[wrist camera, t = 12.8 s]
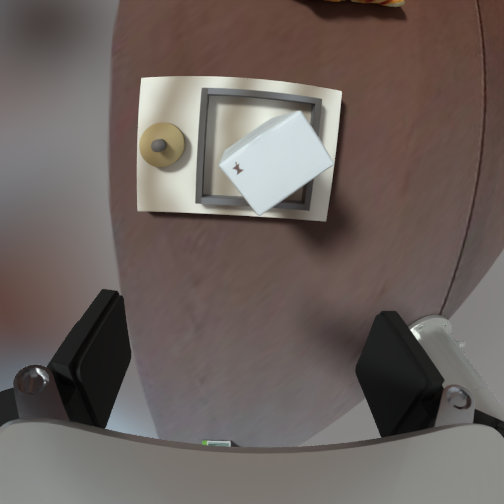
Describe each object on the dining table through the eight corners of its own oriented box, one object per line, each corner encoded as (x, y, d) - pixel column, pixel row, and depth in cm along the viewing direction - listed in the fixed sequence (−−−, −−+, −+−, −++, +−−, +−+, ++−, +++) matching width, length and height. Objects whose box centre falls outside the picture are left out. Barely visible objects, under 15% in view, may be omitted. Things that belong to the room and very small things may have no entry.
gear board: (335, 93, 28) (351, 88, 24) (321, 216, 33) (333, 229, 29) (147, 80, 26) (133, 74, 22) (143, 206, 32) (129, 218, 28)
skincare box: (248, 184, 30) (256, 220, 19) (223, 150, 28) (214, 164, 17) (299, 150, 28) (337, 165, 17) (274, 115, 27) (299, 106, 16)
